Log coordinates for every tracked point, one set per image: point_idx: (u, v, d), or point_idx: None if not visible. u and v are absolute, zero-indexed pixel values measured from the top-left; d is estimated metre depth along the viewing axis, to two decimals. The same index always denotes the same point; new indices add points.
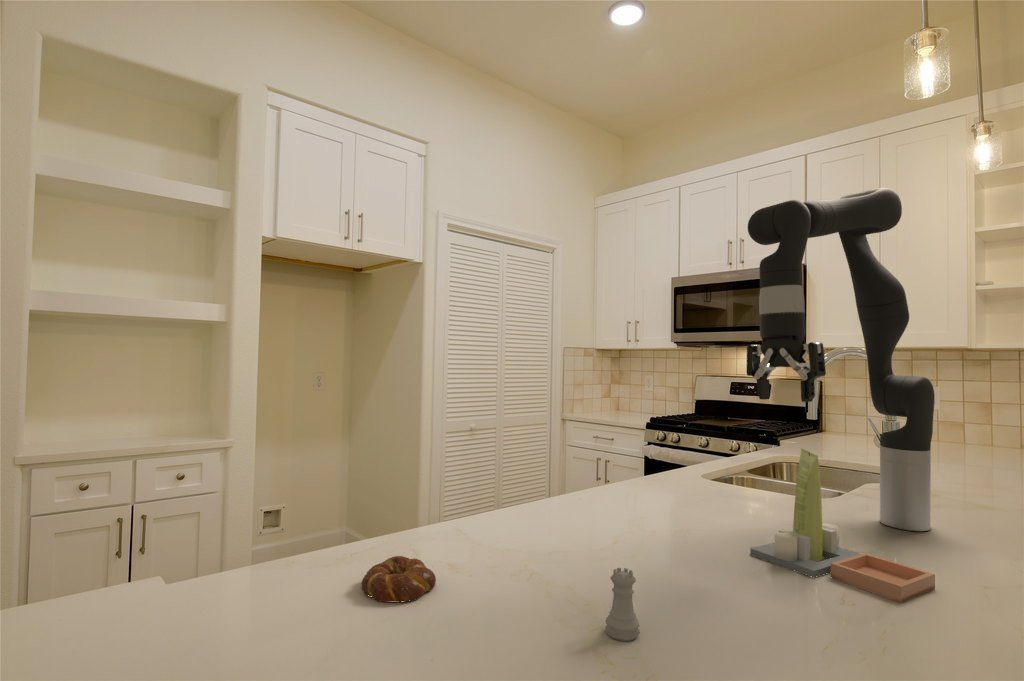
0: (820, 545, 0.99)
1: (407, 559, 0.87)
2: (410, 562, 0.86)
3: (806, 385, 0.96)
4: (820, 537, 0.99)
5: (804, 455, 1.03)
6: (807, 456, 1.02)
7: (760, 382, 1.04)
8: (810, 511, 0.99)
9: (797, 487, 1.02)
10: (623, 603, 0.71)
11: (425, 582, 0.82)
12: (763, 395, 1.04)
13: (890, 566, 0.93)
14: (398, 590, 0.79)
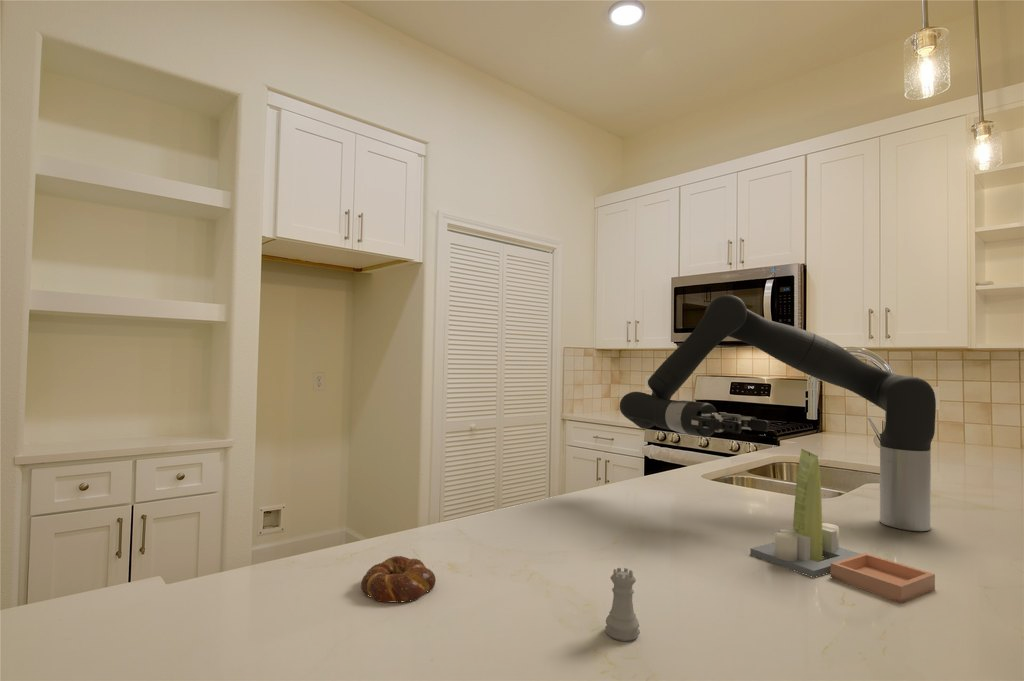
0: (820, 545, 0.99)
1: (407, 559, 0.87)
2: (410, 562, 0.86)
3: (726, 429, 1.11)
4: (820, 537, 0.99)
5: (804, 455, 1.03)
6: (807, 456, 1.02)
7: (753, 429, 1.16)
8: (810, 511, 0.99)
9: (797, 487, 1.02)
10: (623, 603, 0.71)
11: (424, 583, 0.82)
12: (763, 429, 1.14)
13: (890, 566, 0.93)
14: (397, 590, 0.79)
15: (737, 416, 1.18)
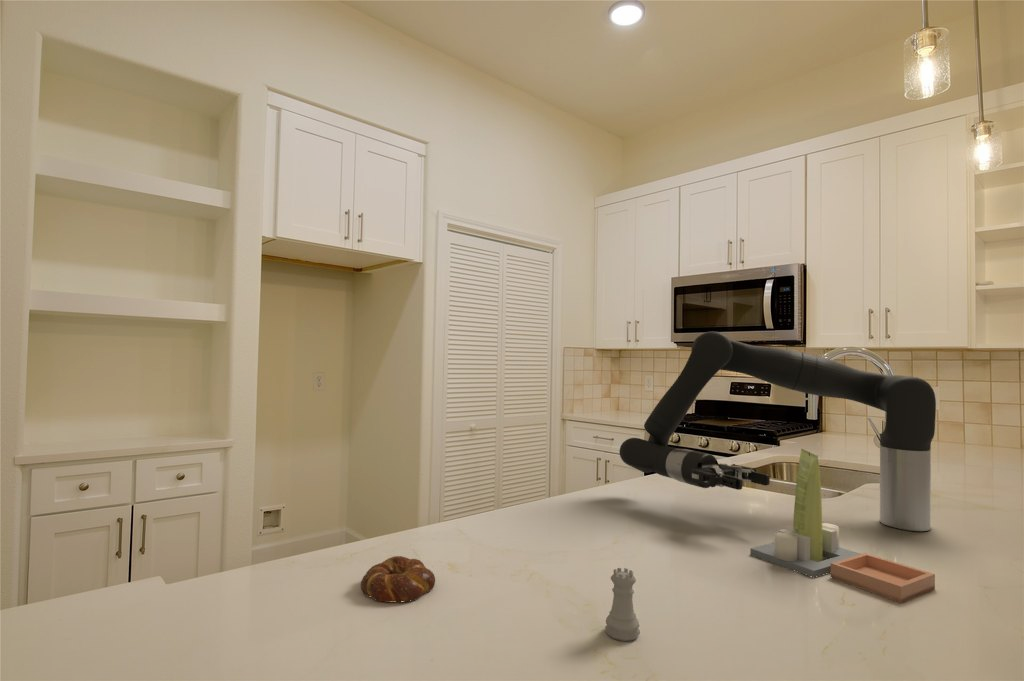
0: (820, 545, 0.99)
1: (407, 559, 0.87)
2: (409, 562, 0.86)
3: None
4: (820, 537, 0.99)
5: (804, 455, 1.03)
6: (807, 456, 1.02)
7: None
8: (810, 511, 0.99)
9: (797, 487, 1.02)
10: (623, 603, 0.71)
11: (424, 583, 0.82)
12: (764, 483, 1.13)
13: (890, 566, 0.93)
14: (397, 590, 0.79)
15: (738, 468, 1.17)
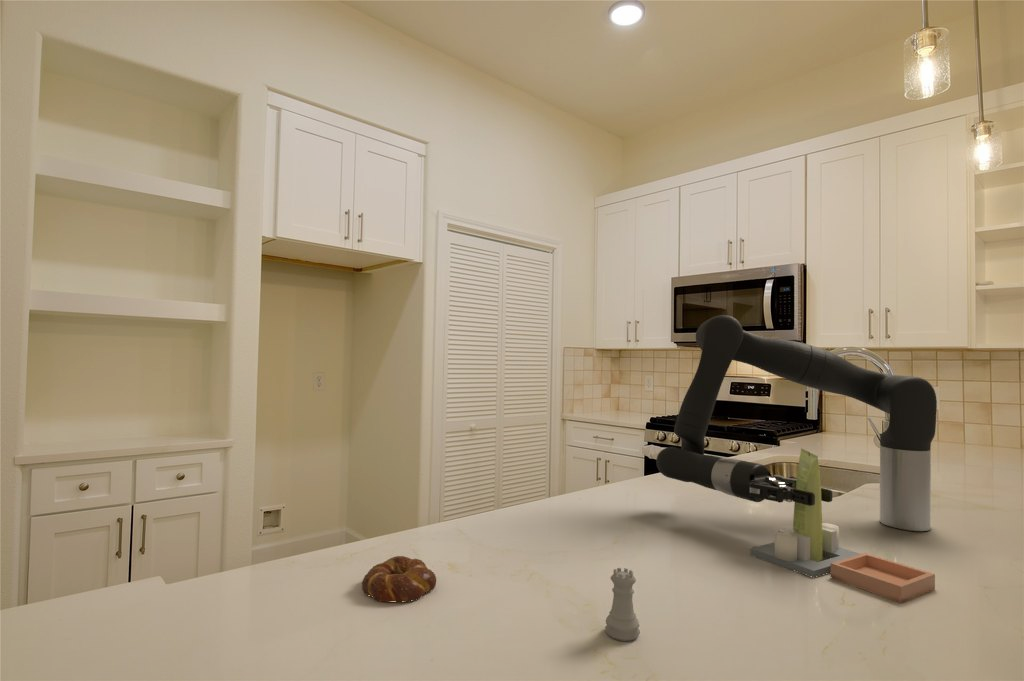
0: (820, 545, 0.99)
1: (408, 559, 0.87)
2: (411, 562, 0.86)
3: None
4: (820, 537, 0.99)
5: (804, 455, 1.03)
6: (807, 456, 1.02)
7: None
8: (810, 511, 0.98)
9: (797, 487, 1.02)
10: (623, 603, 0.71)
11: (425, 583, 0.81)
12: (826, 499, 1.01)
13: (890, 566, 0.93)
14: (397, 590, 0.79)
15: (793, 481, 1.05)
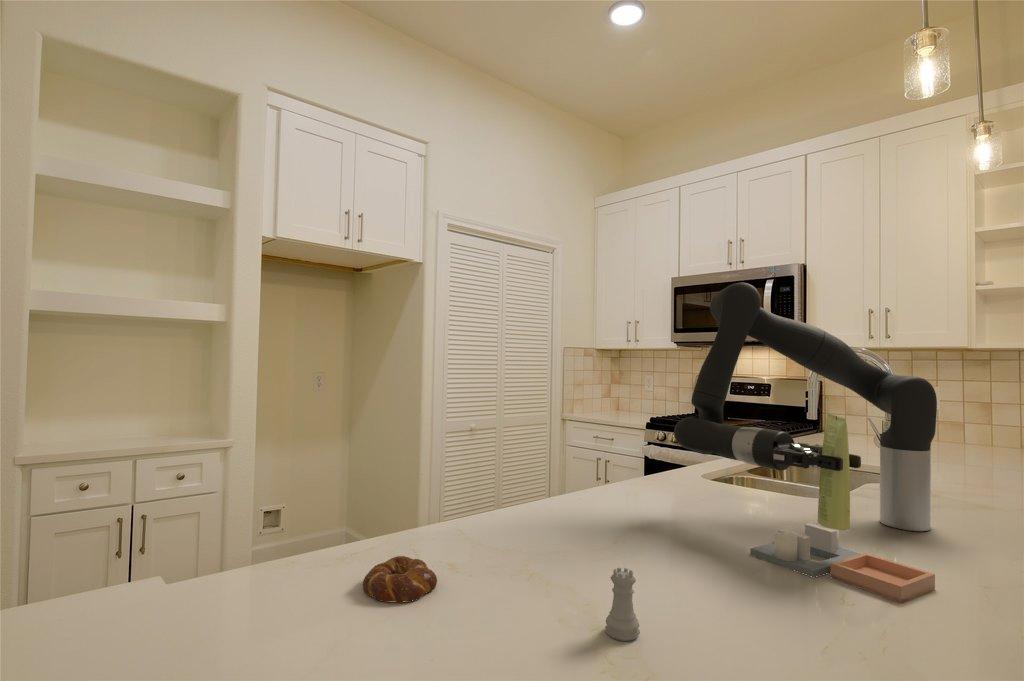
0: (848, 512, 0.95)
1: (409, 559, 0.87)
2: (412, 562, 0.86)
3: None
4: (848, 504, 0.95)
5: (831, 420, 0.98)
6: (834, 420, 0.97)
7: None
8: (837, 477, 0.94)
9: (823, 453, 0.98)
10: (623, 603, 0.71)
11: (425, 583, 0.81)
12: (854, 465, 0.96)
13: (890, 566, 0.93)
14: (398, 590, 0.79)
15: (819, 448, 1.01)
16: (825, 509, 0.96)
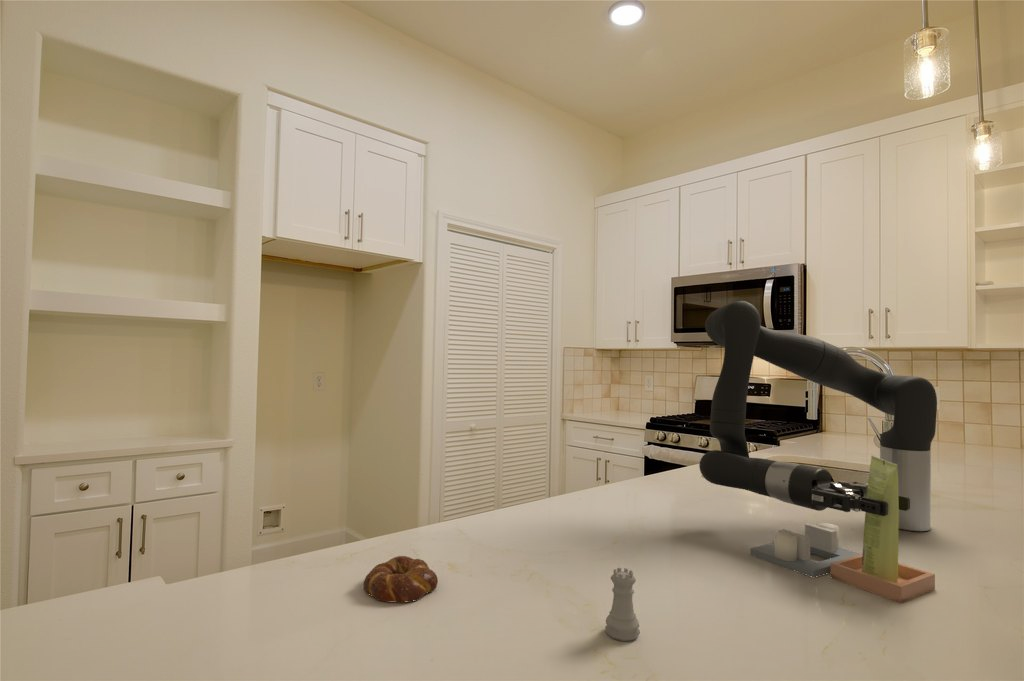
0: (896, 565, 0.88)
1: (410, 559, 0.87)
2: (413, 562, 0.86)
3: (866, 509, 0.89)
4: (896, 556, 0.88)
5: (877, 464, 0.92)
6: (881, 465, 0.91)
7: None
8: (886, 527, 0.88)
9: None
10: (623, 603, 0.71)
11: (426, 583, 0.81)
12: (902, 508, 0.90)
13: None
14: (398, 590, 0.79)
15: (863, 488, 0.95)
16: (872, 561, 0.89)
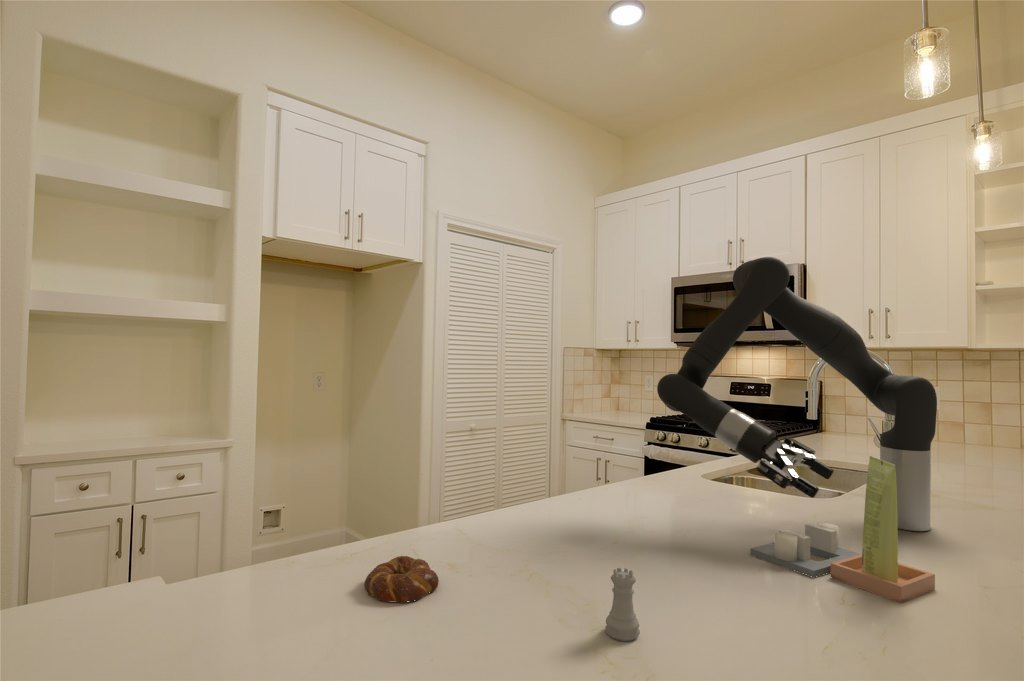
0: (896, 565, 0.88)
1: (412, 559, 0.87)
2: (414, 563, 0.86)
3: None
4: (896, 556, 0.88)
5: (875, 464, 0.92)
6: (879, 465, 0.91)
7: None
8: (885, 527, 0.88)
9: (868, 500, 0.91)
10: (623, 603, 0.71)
11: (426, 584, 0.81)
12: (825, 476, 1.07)
13: None
14: (398, 590, 0.79)
15: (800, 454, 1.08)
16: (872, 562, 0.89)
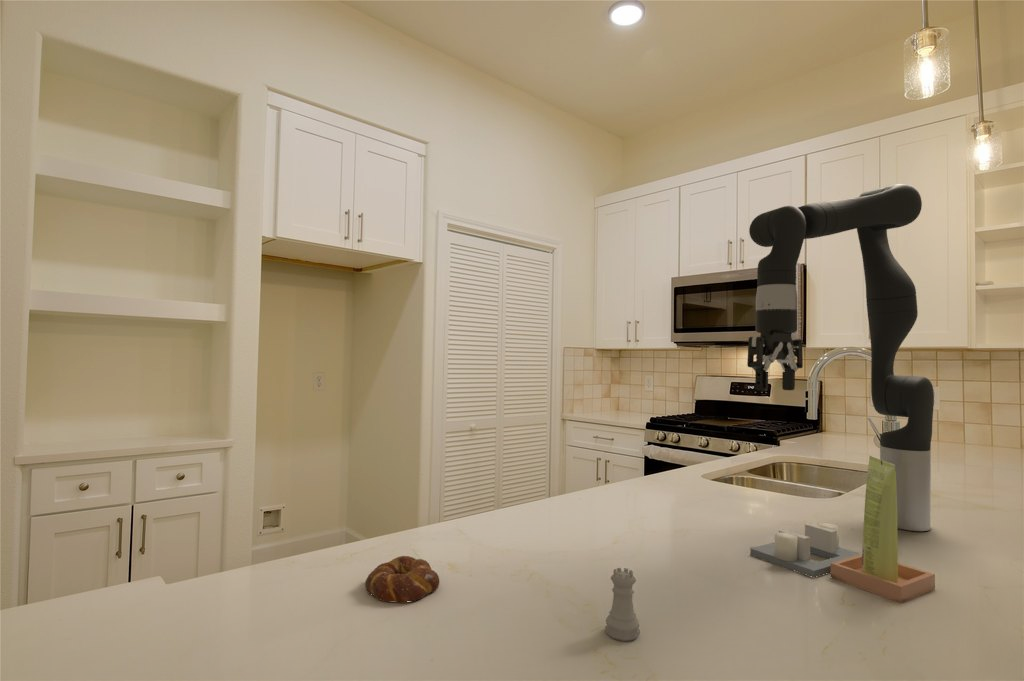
0: (896, 565, 0.88)
1: (413, 559, 0.87)
2: (415, 563, 0.86)
3: None
4: (896, 556, 0.88)
5: (875, 464, 0.92)
6: (879, 465, 0.91)
7: None
8: (885, 527, 0.88)
9: (867, 500, 0.91)
10: (623, 603, 0.71)
11: (427, 584, 0.81)
12: (784, 386, 1.12)
13: None
14: (398, 590, 0.79)
15: (790, 360, 1.10)
16: (872, 562, 0.89)
